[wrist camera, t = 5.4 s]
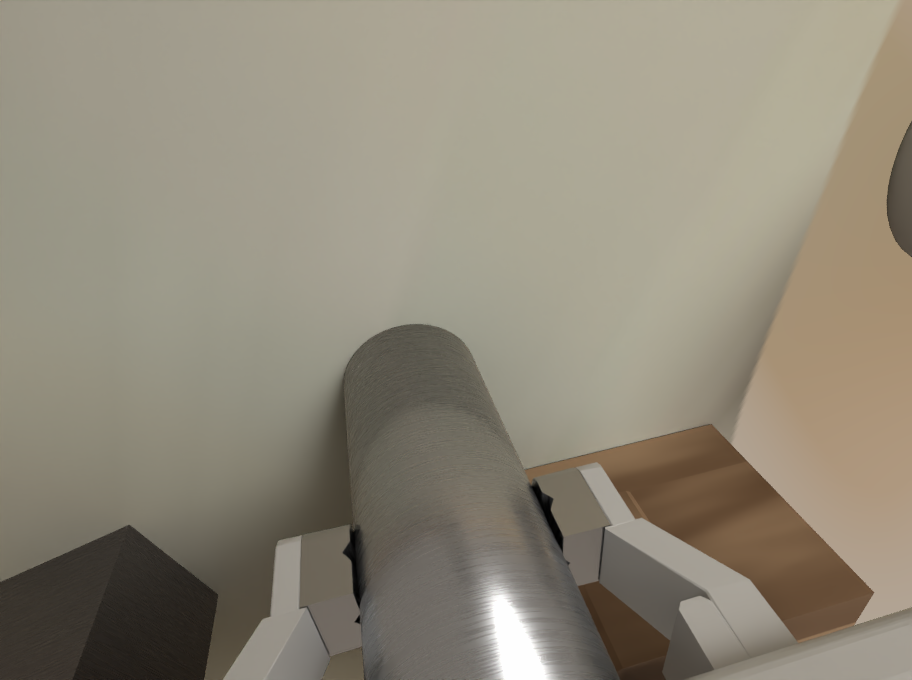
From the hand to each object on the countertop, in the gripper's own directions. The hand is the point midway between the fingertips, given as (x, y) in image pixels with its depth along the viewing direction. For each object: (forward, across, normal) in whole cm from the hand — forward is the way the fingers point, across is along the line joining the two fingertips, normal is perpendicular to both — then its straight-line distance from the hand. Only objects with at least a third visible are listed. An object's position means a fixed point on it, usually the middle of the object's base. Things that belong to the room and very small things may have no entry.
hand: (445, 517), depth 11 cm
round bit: (+5, 0, 0) cm, 5 cm away
